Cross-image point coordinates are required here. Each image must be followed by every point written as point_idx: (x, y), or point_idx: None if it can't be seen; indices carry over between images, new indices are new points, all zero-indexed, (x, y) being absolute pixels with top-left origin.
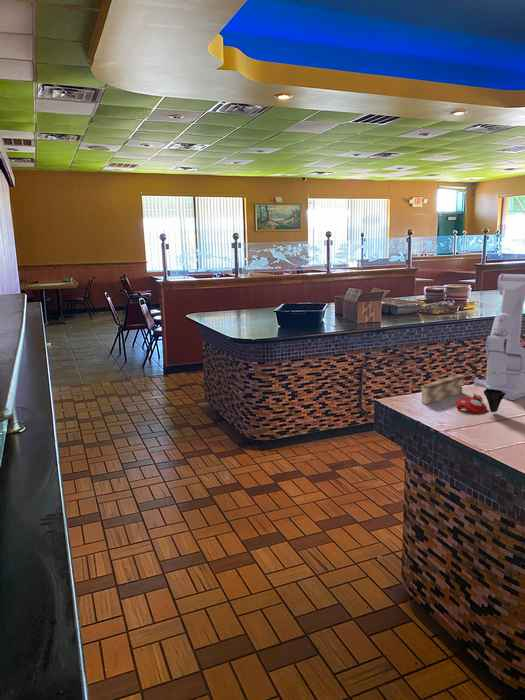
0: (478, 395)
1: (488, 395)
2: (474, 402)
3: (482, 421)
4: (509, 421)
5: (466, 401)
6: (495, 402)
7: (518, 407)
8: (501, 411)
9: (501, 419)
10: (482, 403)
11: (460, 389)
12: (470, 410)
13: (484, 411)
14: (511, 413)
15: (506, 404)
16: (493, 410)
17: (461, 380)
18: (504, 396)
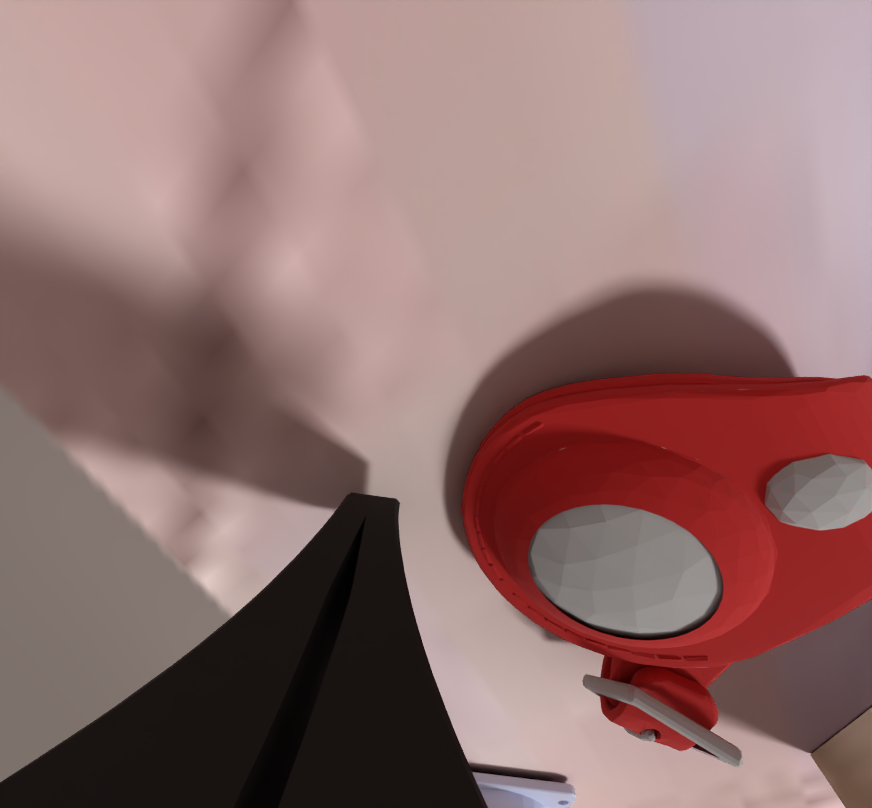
0: (660, 743)
1: (346, 767)
2: (641, 557)
3: (319, 146)
4: (122, 397)
5: (774, 541)
6: (245, 608)
7: None
8: None
9: (216, 401)
10: (547, 611)
11: (855, 788)
12: (621, 378)
13: (466, 483)
14: None
15: None
16: (341, 503)
17: None
18: (485, 790)
